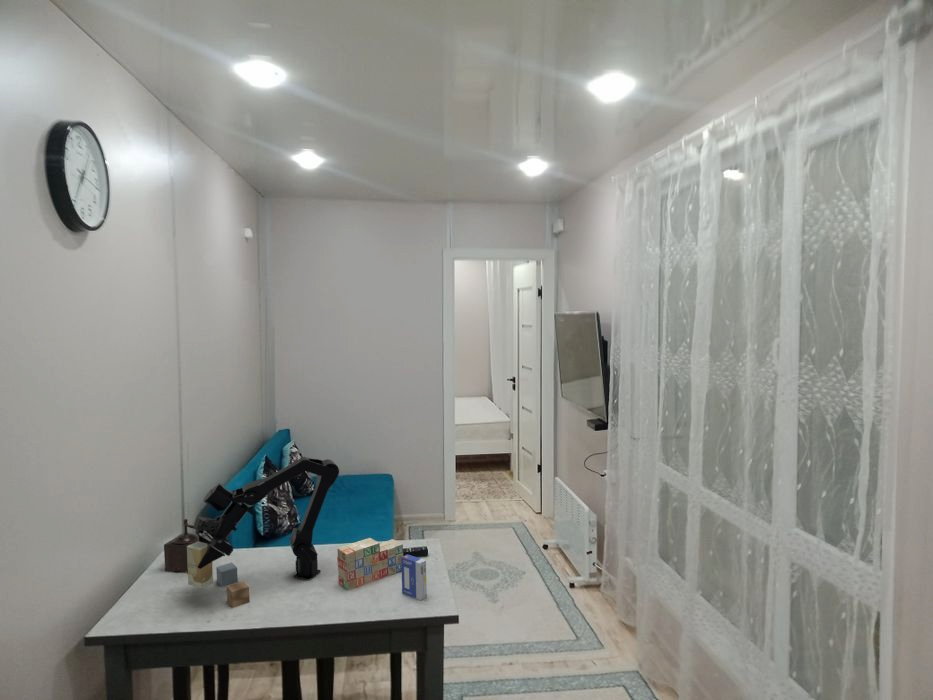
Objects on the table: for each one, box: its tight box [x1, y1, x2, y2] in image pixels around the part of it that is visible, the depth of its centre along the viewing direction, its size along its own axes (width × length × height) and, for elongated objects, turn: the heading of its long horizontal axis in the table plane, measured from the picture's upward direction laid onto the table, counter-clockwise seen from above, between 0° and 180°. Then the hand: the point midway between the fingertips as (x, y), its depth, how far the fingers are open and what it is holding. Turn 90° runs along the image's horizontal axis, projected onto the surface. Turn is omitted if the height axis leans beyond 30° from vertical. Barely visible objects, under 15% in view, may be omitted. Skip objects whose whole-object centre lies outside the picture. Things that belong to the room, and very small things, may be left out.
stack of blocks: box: [336, 537, 404, 591], centre depth 189 cm, size 21×6×12 cm, turn 130°
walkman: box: [401, 553, 428, 601], centre depth 176 cm, size 8×3×12 cm, turn 54°
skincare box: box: [187, 541, 214, 589], centre depth 174 cm, size 6×4×12 cm
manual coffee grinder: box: [163, 518, 199, 573], centre depth 198 cm, size 16×11×18 cm
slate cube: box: [216, 561, 239, 588], centre depth 187 cm, size 5×5×5 cm
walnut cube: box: [226, 580, 250, 609], centre depth 174 cm, size 5×5×5 cm
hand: (194, 564), depth 173 cm, fingers closed on skincare box, 7 cm apart
